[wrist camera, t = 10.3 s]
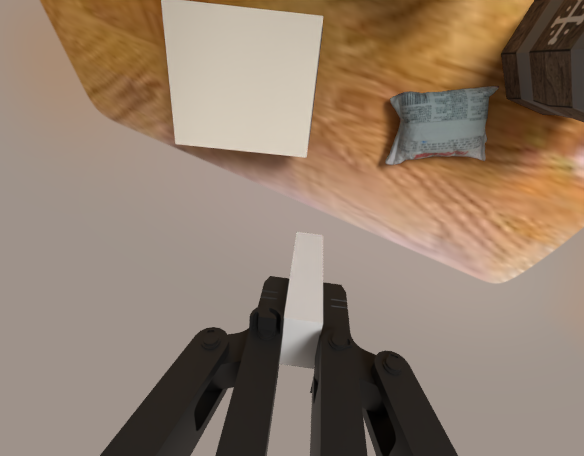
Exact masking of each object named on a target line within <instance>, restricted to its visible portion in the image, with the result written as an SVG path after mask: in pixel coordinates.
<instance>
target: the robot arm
mask: <svg viewBox="0 0 584 456" xmlns="http://www.w3.org/2000/svg"><path fill="white" fill-rule="evenodd" d="M279 364H284V365H291V366H299V367H305V368H312V369H313V368H314V377H313V382H312V387H311V391H310V393H312V414H311V443H310V456H367V448H366V439H365V430H364V422H363V417H364V420H365V423H366V426H367V429H368V432H369V435H370V438H371V441H372V444H373V447H374V450H375V453H376V456H458V455H457V453H456V451H455V449H454V447H453V445H452V444H451V442H450V440H449V438H448V436H447V434H446V433H445V431H444V429H443V427H442V425H441V423H440V421H439V420H438V418H437V416H436V414H435V412H434V410H433V409H432V407H431V405H430V403H429V401H428V399H427V397H426V395H425V394H424V392H423V390H422V388H421V386H420V384H419V383H418V381H417V379H416V377H415V375H414V373H413V371H412V369H411V368H410V366H409V364H408V363H407V361H406V360H405V359H404V358H403V357H401V356H400V355H399V354H397V353H394V352H392V351H382V352H379V353H378V354H377V355H375V354H372V353H370V352H368V351H365V350H364V349H362V348H360V347H359V346H358V345H357V344H356V343H355V342H354V341H353V339H352V337H351V334H350V327H349V318H348V309H347V298H346V292H345V290H344V289H343V287H342V286H341V285H338V284H331V283H323V235H319V234H310V233H303V232H297V234H296V241H295V247H294V254H293V261H292V267H291V274H290V279H288V278H281V277H273V276H270V277H269V278H268V279H267V280H266V281H265V283H264V286H263V289H262V293H261V298H260V301H259V305H258V307H257V308H256V309H254V310H253V311H252V313H251V314H250V326H249V328H248V329H247V330H245V331H243V332H240V333H235V334H228V335H227V333H226V332H225V331H224V330H222V329H220V328H215V327H212V328H206V329H204V330H202V331H200V332H199V333H198V334H197V335H195V337H194V338H193V339H192V341H191V342H190V343H189V344H188V346H187V347H186V348H185V349H184V351H183V352H182V353H181V354H180V356H179V357H178V358H177V359H176V361H175V362H174V363H173V364H172V366H171V367H170V368H169V370H168V371H167V372H166V373H165V374H164V376H163V377H162V378H161V380H160V381H159V382H158V383H157V384H156V386H155V387H154V388H153V390H152V391H151V392H150V393H149V395H148V396H147V397H146V398H145V400H144V401H143V402H142V403H141V405H140V406H139V407H138V409H137V410H136V411H135V412H134V413H133V415H132V416H131V417H130V419H129V420H128V421H127V423H126V424H125V425H124V426H123V427H122V428H121V430H120V431H119V433H118V434H117V435H116V436H115V437H114V439H113V440H112V441H111V442H110V444H109V445H108V446H107V447H106V449H105V450H104V451H103V452H102V454H101V455H100V456H190V455H191V453H192V452H193V449H194V448H195V446H196V445H197V443H198V441H199V439H200V437H201V436H202V434H203V432H204V430H205V428H206V427H207V425H208V423H209V421H210V420H211V418H212V416H213V414H214V412H215V411H216V409H217V407H218V405H219V403H220V401H221V400H222V398H223V396H224V395H225V393H226V390H227V389H228V388H231V387H234V389H233V393H232V396H231V400H230V404H229V408H228V411H227V415H226V419H225V423H224V426H223V430H222V434H221V437H220V441H219V445H218V449H217V452H216V456H267V449H268V442H269V435H270V427H271V421H272V414H273V406H274V399H275V392H276V385H277V378H278V369H279ZM314 364H315V366H314Z"/></svg>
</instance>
